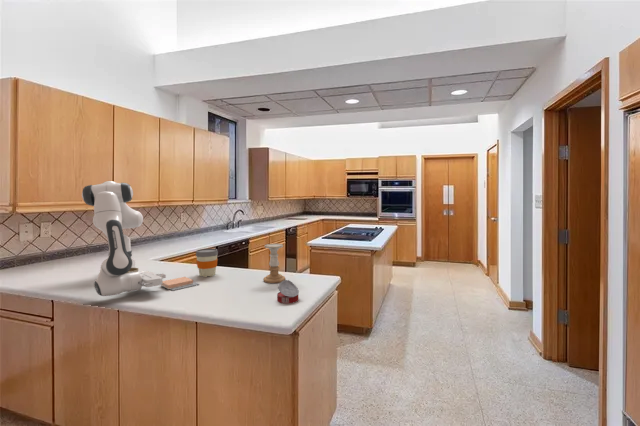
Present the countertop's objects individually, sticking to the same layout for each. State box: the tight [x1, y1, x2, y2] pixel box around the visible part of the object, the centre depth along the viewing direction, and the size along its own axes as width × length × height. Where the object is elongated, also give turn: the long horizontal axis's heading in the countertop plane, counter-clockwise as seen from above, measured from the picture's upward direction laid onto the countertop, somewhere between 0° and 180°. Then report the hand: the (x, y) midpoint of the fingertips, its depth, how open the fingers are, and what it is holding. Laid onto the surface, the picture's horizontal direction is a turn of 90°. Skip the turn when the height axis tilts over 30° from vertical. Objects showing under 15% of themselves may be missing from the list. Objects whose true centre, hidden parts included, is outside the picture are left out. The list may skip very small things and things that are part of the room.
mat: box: [169, 281, 200, 292], centre depth 171 cm, size 16×14×1 cm
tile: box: [160, 276, 194, 290], centre depth 170 cm, size 10×2×13 cm
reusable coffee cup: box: [195, 248, 219, 278], centre depth 191 cm, size 13×13×15 cm
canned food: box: [276, 279, 300, 304], centre depth 147 cm, size 11×10×10 cm
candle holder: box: [262, 243, 286, 284], centre depth 179 cm, size 12×12×20 cm
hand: (164, 275), depth 165 cm, fingers closed
